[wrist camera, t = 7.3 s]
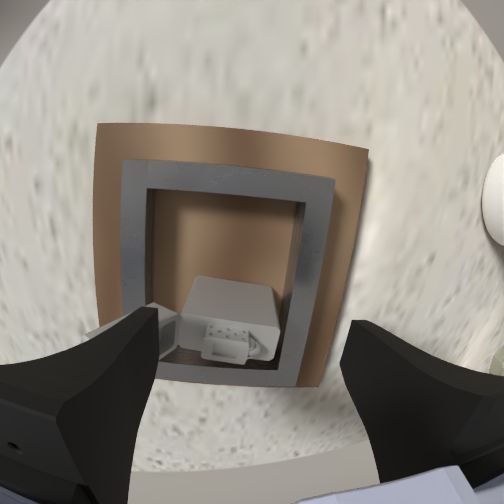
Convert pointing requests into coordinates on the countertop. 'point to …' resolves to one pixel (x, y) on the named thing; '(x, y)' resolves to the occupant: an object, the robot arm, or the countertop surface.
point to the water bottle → (494, 200)
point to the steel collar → (298, 268)
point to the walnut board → (226, 220)
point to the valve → (498, 363)
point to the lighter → (219, 322)
